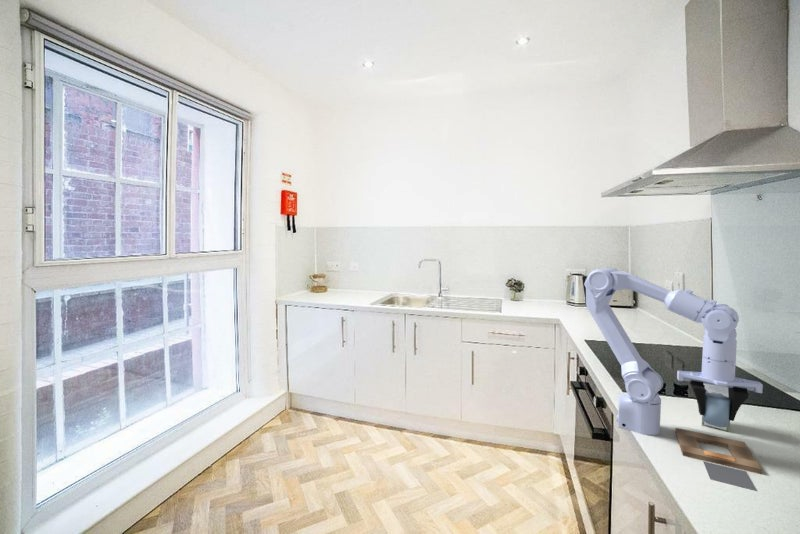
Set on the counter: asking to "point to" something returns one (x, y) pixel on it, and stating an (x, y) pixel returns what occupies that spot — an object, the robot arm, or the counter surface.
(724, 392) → the syrup box
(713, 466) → the mat
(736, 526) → the counter surface
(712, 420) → the peg
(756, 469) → the socket plate
